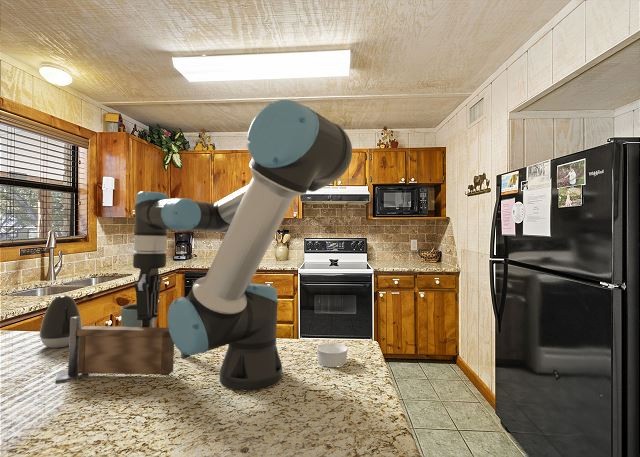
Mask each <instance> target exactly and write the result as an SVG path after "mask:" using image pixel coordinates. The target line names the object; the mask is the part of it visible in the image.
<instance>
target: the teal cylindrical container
mask: <svg viewBox="0 0 640 457" xmlns="http://www.w3.org/2000/svg"><path fill="white" fill-rule="evenodd" d="M155 314H157V313H155ZM120 317H121V318H120V320H121V327H141V320H137V303H133V304H127V305H124V306H121V307H120ZM153 318H154V327H156V321H157V317H153Z"/></svg>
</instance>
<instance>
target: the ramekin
mask: <svg viewBox="0 0 640 457" xmlns="http://www.w3.org/2000/svg"><path fill="white" fill-rule="evenodd" d="M348 351H349V348H348V347H347V345H345V344H342V343H337V342H324V343H320V344H318V345H317V346H316V354H317V355H316V356H317V362H318V364H319V365H320V364H321V365H323V366H322V367H324V366H328V367H337V366H341V365H344V364H345V363H346V364H347V358H348ZM346 364H345V365H346ZM321 365H320V366H321ZM345 365H344V366H345ZM328 367H327V368H328Z"/></svg>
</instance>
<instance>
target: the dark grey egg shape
mask: <svg viewBox="0 0 640 457" xmlns="http://www.w3.org/2000/svg"><path fill="white" fill-rule="evenodd" d="M77 316H80V317H81V314H80V311H79V307H78V304H77V303H76V302H75V300H74V299H73V297H72V296H69V295H64V294H63V295H56V296H55V298H54V299H53V300H52V301H50V304H49V305H48V306H47V309H46V311H45V313H44V316H43V318H42V322H41V326H40V330H39V338H40V340H41V342H42V344H43V345H44V346H45V347H47V348H51V349H60V348H65V347H69V339H70V319H71V317H77ZM81 327H83V325H82V321H81V322H80V328H81Z"/></svg>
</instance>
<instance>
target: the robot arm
mask: <svg viewBox="0 0 640 457" xmlns="http://www.w3.org/2000/svg"><path fill="white" fill-rule="evenodd" d="M246 139H247V140H248V141H249V142H248V143H247V144H246V145H247V149H248V153H249V155H250V157H251V159H250V161H249V164H248V166H249V168H250V172H251V176H252V178H250V179H251V180H250V182H249V183H248V184H247V185H244V186H243V187H242V188H239V189H238V190H236V191H234V192H233V193H231V194H229V195H227V196H226V197H224V198H222V199H220V200H218V201H216V202H203V201H195V200H193V199H191V198H183V197H175V198H169V197H168V194H166V193H164V192H156V191H139V192H138V193H137V194H136V195H135V204H134V230H133V231H134V236H133V239H132V243H134V244H133V251H134V252H135V253H134V254H133V258H132V259H133V260H132V266H133V268H134V269H139V270H140V271H139V274H138V278H137V279H138V280H137V281H138V282H134V289H135V290H134V291H135V298H136V300H135V301H136V302H135V303H136V304H137V320H141V327H154V318H153V317H156V318H158V317H159V314H158V310H159V300H160V291H161V290H160V289H161V284H162V279H163V277H162V276H160V275H161V274H160V273H159V269H163V268H165V267H166V266H167V253H165V252H166V251H167V247H168V245H167V244H168V242H167V241H168V231H169V230H171V231H192V232H193V231H198V232H200V231H201V232H217V233H225V234H224V236H223V238H222V242H221V243H220V245H219V248H218V249H217V252H216V254H215V256H214V258H213V260H212V263H211V264H210V267H209V269H208V271H207V272H206V275H205V276H203V277H199V278H198V279H196V280H195V281H194V283H193V285H192V287H191V289H190V291H189V293H188V295H187V296H181V297H178V298H175V299H174V300H173V301H172V302H171V303H170V305H169V307H168V313H167V328H169V333H170V336H171V338H172V341H173V343H174V347H176V349H178V350H179V352H180V353H181V352H182V353H184V354H186V355H190V356H195V355H199V354H205V353H206V352H208V351H209V352H210V351H211V350H215V349H218V348H221V347H224V346H227V345H228V346H227V350H226V352H225V355H224V357H223V360H222V363H221V366H220V370H219V382H220V384H221V385H223V386H224V387H225V386H226V388H228V389H230V388H231V390H234V389H235V390H236V391H243V390H250V391H259V390H263V388H264V389H267V388H271V387H272V385H273V386H274V384H275V385H276V384H278V383H279V382H280V381H281V380H282V378H283V364H282V362H281V358H280V355H279V354H280V353H279V351H278V347H277V330H278V329H277V328H278V327H277V326H278V304H279V300H278V290H277V288H276V287H274V286H273V285H268V284H262V283H261V284H260V283H253V282H252V281H253V278H254V276H255V274H256V272H257V270H258V269H259V266H260V265H261V262H263V261H262V260H263V258H265V255H266V253H267V251H268V249H269V247H270V245H271V243H272V241H273V239H274V238H275V235H276V234H277V232H278V230H279V229H280V226H281V224H282V222H283V220H284V218H286V217H285V216H286V214H287V213H288V211H289V208H290V207H291V205H292V203H293V201H294V199H295V198H296V197H299V196H303V195H305V194H307V192H311V193H312V192H316V191H319V190H320V189H323V188H325V187H326V186H328V185H330V184H332V183H334V182H336V181H338V180H339V179H341V177H342V176H344V175H345V173H346V172H347V170H348V169H349V167H350V166H351V162H352V160H353V146H352V145H353V144H352V142H351V139H350V137H349V135H348V134H347V132H346V131H345V130H344V129H343V128H342V127H341V126H340V125H338V124H336V123H335V122H332V121H330V120H328V119H327V118H325V117H324V116H323V115H321V114H320V113H317V112H316V111H315V110H313V109H311V108H310V107H309V106H307V105H303V104H302V103H299V102H297V101H295V100H291V99H278V100H276V101H275V102H273V103H268V104H267V105H265V106H264V107H263V108H262V109H260V111H259V112H258V113H257V114H256V115H255V117H254V118H253V120H252V121H251V124H250V126H249V129H248V132H247V138H246ZM251 282H252V283H251ZM155 313H156V314H155ZM280 379H281V380H280ZM279 380H280V381H279ZM278 381H279V382H278ZM277 382H278V383H277ZM258 389H259V390H258Z"/></svg>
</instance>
